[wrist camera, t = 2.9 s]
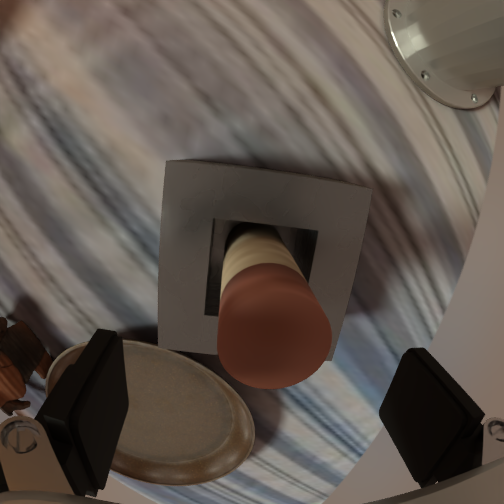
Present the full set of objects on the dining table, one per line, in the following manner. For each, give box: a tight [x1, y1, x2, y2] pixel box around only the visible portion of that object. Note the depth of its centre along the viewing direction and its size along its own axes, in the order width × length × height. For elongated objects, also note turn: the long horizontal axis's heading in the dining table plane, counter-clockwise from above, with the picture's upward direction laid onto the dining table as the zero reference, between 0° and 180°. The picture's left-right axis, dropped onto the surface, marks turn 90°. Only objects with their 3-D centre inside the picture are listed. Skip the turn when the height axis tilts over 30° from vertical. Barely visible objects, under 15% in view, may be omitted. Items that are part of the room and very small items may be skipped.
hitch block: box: [158, 160, 373, 361], centre depth 20 cm, size 11×11×6 cm
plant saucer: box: [45, 339, 255, 486], centre depth 26 cm, size 21×21×3 cm
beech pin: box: [217, 222, 332, 389], centre depth 16 cm, size 4×4×12 cm
